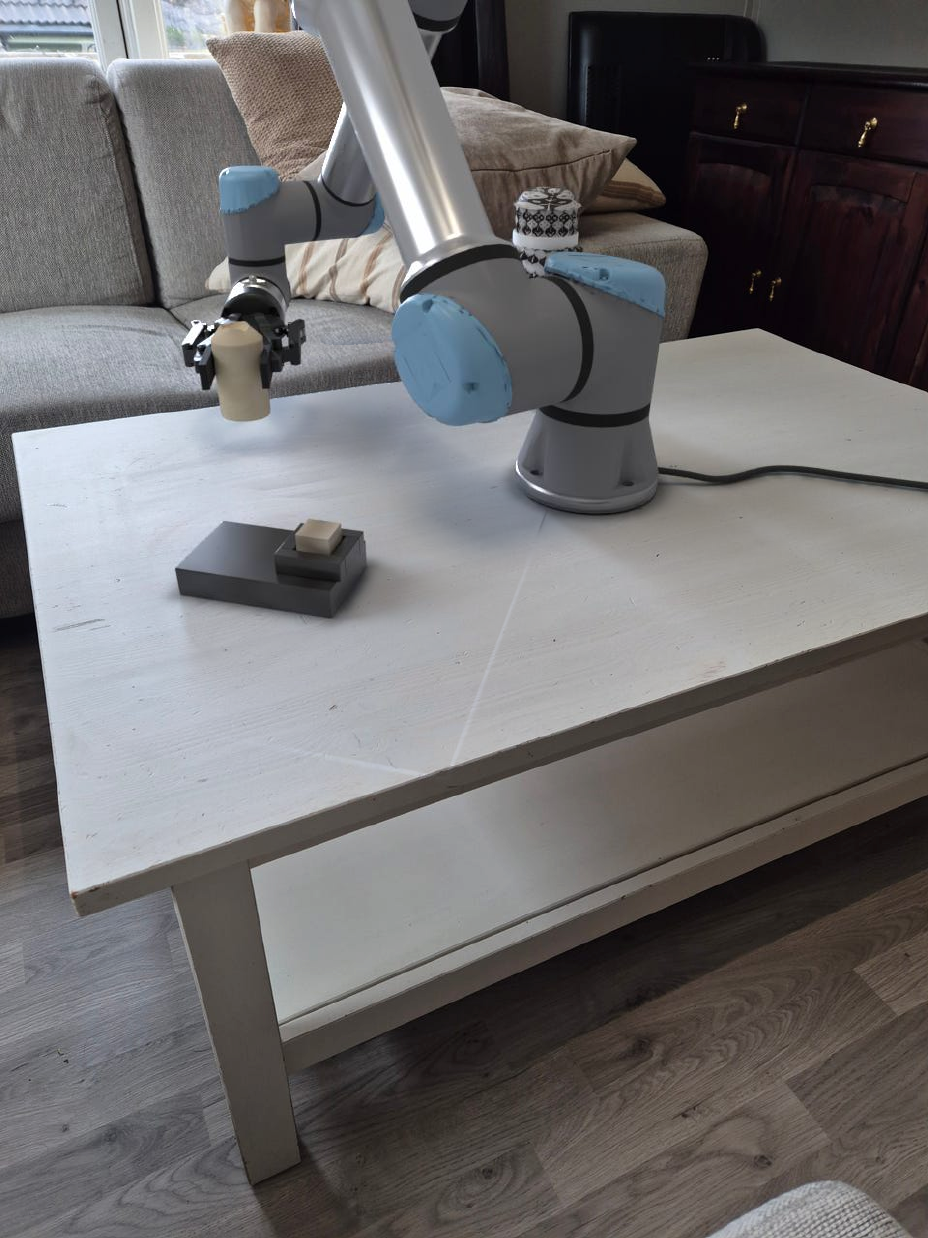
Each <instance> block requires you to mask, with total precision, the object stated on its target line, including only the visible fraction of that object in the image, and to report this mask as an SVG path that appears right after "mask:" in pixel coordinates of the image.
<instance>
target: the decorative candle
mask: <svg viewBox="0 0 928 1238" xmlns="http://www.w3.org/2000/svg"><path fill="white" fill-rule="evenodd" d="M512 204H513V206H514V207H515V210H516V211H515V215H514V222H515V226H514V229H512V230H513V231H512V237H511V239H509V240H507V241H508V242H511V243H513V244H514V245H515V246H516V247H517V249H518V251H519V254H520V257H521V260H522V262H523V265H524V268H525V270H526V273H527V276H528V278H529V279H531V278H538V277H544V276H545V272H544V271H543V270H544V266H545V265H546V260H547V258H548V257H549V256H550V255H551V254H552V253H555V252H582V253H583V251H584V249H583V247H582V246H581V245H580V244H579V235H580V234H579V231H578V226H579V217H580V216H579V215H580V214H579V212H580V207H582V204H581V203H579V202H577V200H576V197H575V195H574V194H573V192H571V191H570V190H569V189H567V188H563V187H554V186H535V187H534V186H533V187H528V188H527V189H525V190H524V191H523V192H522V193H521V195H520V196H519V197H518V199H517V200H515V201H513V202H512Z"/></svg>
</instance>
